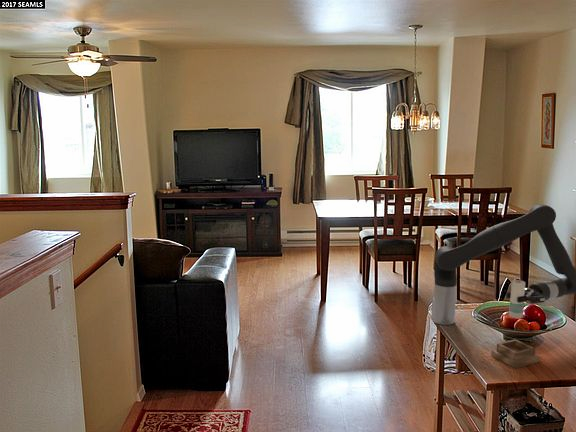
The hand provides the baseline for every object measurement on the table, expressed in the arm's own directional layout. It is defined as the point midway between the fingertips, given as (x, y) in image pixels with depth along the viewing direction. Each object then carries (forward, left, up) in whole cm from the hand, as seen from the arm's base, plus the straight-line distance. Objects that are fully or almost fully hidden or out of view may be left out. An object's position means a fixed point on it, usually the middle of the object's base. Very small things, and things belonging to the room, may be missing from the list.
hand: (512, 297), depth 227 cm
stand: (+10, -7, -20) cm, 23 cm away
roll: (0, +3, -8) cm, 8 cm away
